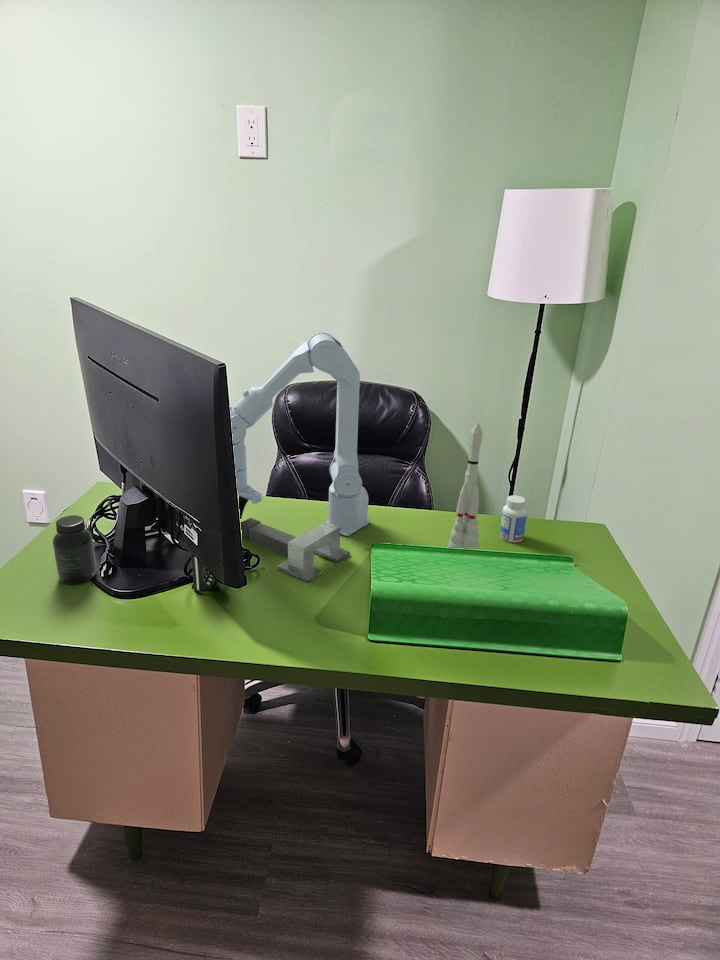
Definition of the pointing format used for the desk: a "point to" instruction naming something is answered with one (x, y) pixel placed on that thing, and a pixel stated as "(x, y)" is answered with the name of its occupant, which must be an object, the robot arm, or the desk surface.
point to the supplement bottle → (73, 550)
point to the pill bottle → (513, 519)
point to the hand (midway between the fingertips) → (235, 523)
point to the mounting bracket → (313, 551)
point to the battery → (201, 576)
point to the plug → (266, 536)
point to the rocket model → (468, 499)
